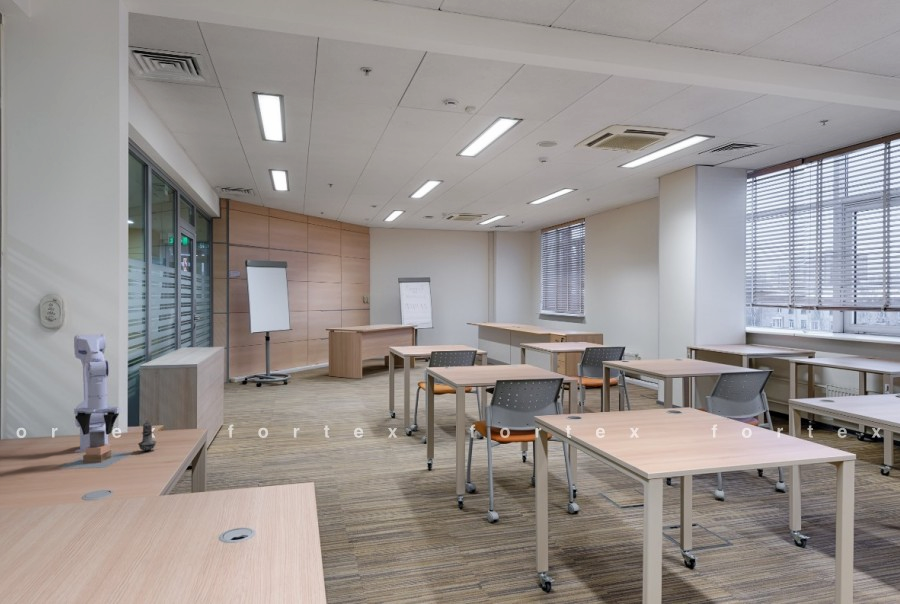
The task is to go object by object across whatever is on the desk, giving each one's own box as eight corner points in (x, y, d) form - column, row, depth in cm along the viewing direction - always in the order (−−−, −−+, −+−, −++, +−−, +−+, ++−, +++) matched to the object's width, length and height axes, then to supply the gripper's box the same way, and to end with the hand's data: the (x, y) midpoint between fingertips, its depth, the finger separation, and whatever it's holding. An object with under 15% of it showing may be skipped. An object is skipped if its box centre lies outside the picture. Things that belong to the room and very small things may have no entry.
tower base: (93, 457, 186) (93, 450, 186) (111, 457, 186) (111, 450, 186) (83, 462, 180) (83, 455, 180) (101, 462, 180) (101, 455, 180)
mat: (89, 454, 191) (89, 453, 191) (134, 453, 192) (134, 452, 192) (56, 469, 173) (56, 468, 173) (105, 468, 174) (105, 467, 174)
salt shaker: (142, 455, 189) (142, 422, 189) (135, 452, 193) (135, 420, 193) (159, 451, 194) (159, 419, 194) (152, 449, 198) (152, 417, 198)
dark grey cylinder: (94, 444, 185) (94, 430, 185) (107, 444, 185) (107, 430, 185) (86, 447, 180) (86, 433, 180) (99, 447, 181) (99, 433, 181)
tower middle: (94, 451, 185) (94, 444, 185) (109, 450, 185) (109, 443, 185) (85, 455, 180) (85, 448, 180) (100, 454, 180) (100, 447, 180)
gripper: (68, 397, 178) (68, 437, 178) (112, 397, 179) (112, 436, 179) (81, 394, 185) (81, 432, 185) (123, 393, 186) (123, 431, 186)
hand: (97, 433), depth 183 cm, fingers open, 7 cm apart
